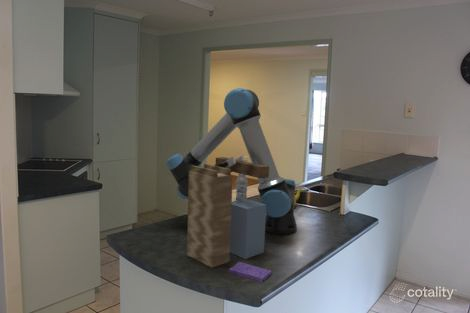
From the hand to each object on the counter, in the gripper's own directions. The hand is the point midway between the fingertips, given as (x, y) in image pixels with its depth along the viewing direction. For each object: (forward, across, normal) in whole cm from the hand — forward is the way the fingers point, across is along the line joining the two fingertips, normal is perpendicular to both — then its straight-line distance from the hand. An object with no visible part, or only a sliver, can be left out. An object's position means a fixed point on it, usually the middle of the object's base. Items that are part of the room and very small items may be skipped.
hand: (238, 159), depth 143 cm
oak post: (-16, +14, -31) cm, 37 cm away
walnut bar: (-1, 0, -5) cm, 5 cm away
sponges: (-1, +12, -40) cm, 42 cm away
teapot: (-39, -65, -17) cm, 78 cm away
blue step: (-13, -1, -32) cm, 35 cm away
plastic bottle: (-50, -42, -11) cm, 66 cm away
